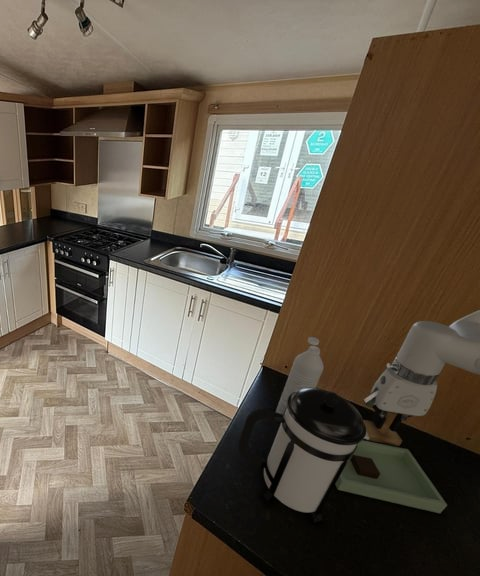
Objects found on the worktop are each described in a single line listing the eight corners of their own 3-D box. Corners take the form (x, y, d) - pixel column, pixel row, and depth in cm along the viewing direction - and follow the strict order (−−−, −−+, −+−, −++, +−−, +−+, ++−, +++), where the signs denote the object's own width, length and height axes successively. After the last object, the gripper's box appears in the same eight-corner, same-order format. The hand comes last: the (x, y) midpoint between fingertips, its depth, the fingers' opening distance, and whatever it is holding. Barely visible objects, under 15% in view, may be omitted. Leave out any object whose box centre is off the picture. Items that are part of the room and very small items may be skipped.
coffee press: (287, 450, 81) (325, 359, 68) (345, 516, 67) (407, 417, 54) (229, 466, 77) (257, 372, 64) (277, 539, 63) (326, 438, 50)
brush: (385, 433, 85) (402, 405, 81) (397, 450, 81) (414, 421, 76) (355, 428, 87) (369, 400, 82) (364, 444, 82) (380, 415, 78)
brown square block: (368, 463, 77) (371, 458, 76) (377, 479, 74) (380, 473, 73) (350, 459, 78) (352, 454, 77) (357, 474, 75) (360, 469, 74)
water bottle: (301, 430, 86) (331, 359, 75) (274, 421, 89) (300, 351, 78) (299, 408, 93) (328, 340, 82) (275, 400, 96) (299, 333, 85)
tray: (402, 457, 79) (408, 449, 78) (440, 513, 68) (447, 505, 66) (316, 439, 84) (320, 431, 82) (337, 489, 72) (342, 481, 71)
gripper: (381, 375, 72) (353, 431, 80) (468, 388, 68) (429, 445, 76) (365, 355, 79) (341, 408, 87) (443, 366, 75) (410, 420, 83)
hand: (382, 425), depth 81 cm, fingers closed on brush, 2 cm apart
